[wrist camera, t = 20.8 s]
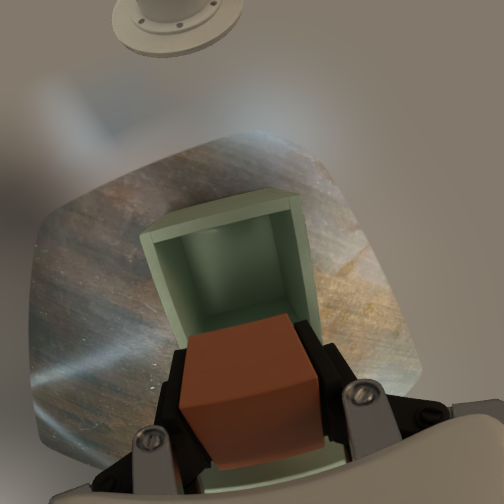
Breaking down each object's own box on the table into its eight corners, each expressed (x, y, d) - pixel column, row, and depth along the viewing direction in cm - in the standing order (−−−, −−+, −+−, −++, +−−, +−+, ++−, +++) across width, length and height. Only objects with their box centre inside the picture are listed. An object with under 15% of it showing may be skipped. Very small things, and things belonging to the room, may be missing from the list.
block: (187, 335, 11) (177, 407, 7) (286, 311, 11) (318, 376, 7) (216, 402, 12) (219, 471, 8) (299, 383, 12) (325, 447, 8)
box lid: (140, 490, 8) (188, 552, 7) (414, 428, 8) (409, 501, 8) (193, 382, 22) (212, 434, 22) (324, 350, 23) (335, 404, 22)
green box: (167, 212, 30) (138, 234, 19) (270, 187, 31) (299, 194, 19) (200, 320, 34) (195, 383, 23) (292, 297, 35) (323, 351, 23)
